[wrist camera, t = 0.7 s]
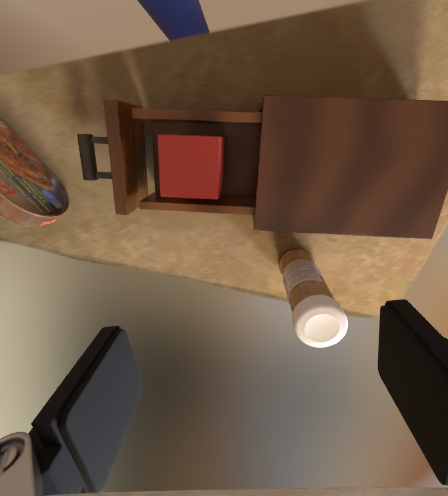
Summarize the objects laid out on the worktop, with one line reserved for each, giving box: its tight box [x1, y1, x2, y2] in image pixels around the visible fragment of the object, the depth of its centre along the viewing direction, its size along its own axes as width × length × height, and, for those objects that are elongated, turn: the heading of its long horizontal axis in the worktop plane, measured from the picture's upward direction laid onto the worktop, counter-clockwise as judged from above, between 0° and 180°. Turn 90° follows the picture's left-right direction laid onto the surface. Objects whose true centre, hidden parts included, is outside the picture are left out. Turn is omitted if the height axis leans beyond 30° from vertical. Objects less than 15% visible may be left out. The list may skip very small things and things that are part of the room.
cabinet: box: [252, 95, 448, 240], centre depth 29 cm, size 16×11×8 cm
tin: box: [0, 120, 69, 227], centre depth 31 cm, size 15×3×8 cm, turn 37°
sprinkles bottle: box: [279, 249, 348, 347], centre depth 31 cm, size 5×5×14 cm
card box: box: [158, 134, 226, 199], centre depth 27 cm, size 5×5×8 cm
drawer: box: [77, 100, 262, 215], centre depth 29 cm, size 20×10×7 cm, turn 88°
